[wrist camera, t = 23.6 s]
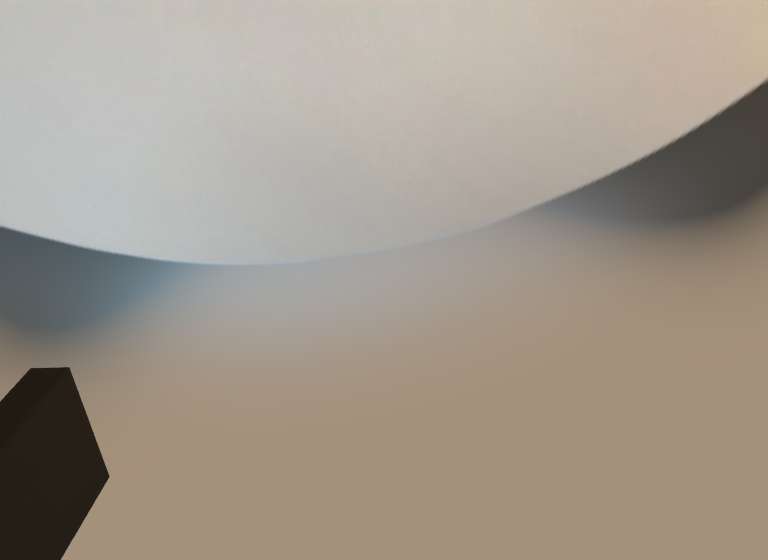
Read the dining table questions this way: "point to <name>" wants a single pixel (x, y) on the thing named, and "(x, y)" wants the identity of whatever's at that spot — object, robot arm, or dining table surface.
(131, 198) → the dining table surface
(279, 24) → the dining table surface
